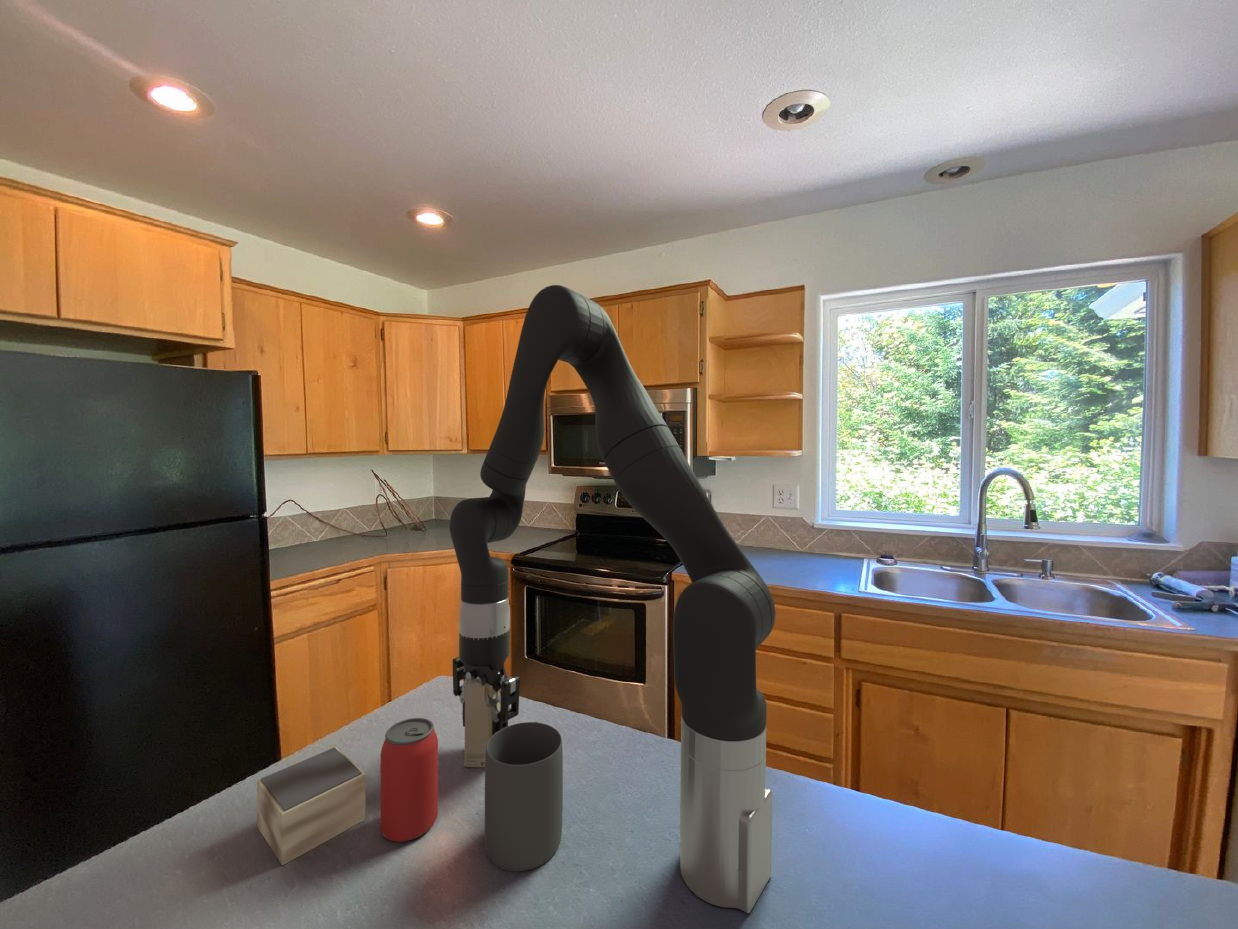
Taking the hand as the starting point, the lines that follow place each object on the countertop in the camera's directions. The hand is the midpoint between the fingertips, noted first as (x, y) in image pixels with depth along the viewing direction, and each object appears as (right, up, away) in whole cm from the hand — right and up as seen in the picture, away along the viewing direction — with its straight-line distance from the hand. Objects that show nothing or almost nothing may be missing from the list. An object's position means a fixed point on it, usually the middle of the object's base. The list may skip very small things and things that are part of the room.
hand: (484, 733), depth 75 cm
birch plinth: (-18, -3, -14) cm, 23 cm away
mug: (+9, -4, -14) cm, 18 cm away
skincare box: (0, -4, 0) cm, 4 cm away
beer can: (-5, -4, -14) cm, 16 cm away
